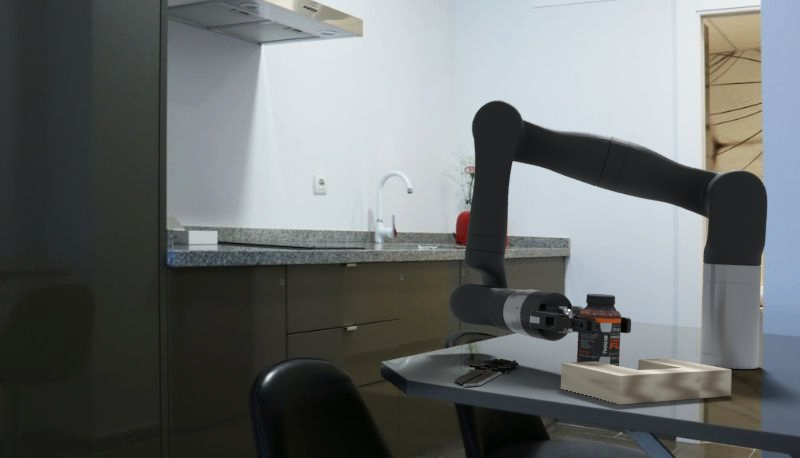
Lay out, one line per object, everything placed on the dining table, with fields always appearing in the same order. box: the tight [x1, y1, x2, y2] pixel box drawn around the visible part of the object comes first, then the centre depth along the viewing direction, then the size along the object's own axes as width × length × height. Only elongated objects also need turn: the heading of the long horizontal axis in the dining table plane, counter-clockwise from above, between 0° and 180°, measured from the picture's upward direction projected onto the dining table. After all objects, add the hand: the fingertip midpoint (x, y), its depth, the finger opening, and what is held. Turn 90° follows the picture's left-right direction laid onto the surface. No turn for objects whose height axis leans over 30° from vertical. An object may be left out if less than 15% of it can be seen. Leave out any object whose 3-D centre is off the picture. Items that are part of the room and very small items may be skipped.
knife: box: [454, 358, 519, 388], centre depth 122 cm, size 25×6×1 cm, turn 154°
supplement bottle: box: [576, 293, 622, 366], centre depth 120 cm, size 6×6×11 cm
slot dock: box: [560, 357, 733, 405], centre depth 112 cm, size 20×11×4 cm, turn 119°
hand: (611, 326), depth 118 cm, fingers closed on supplement bottle, 6 cm apart
